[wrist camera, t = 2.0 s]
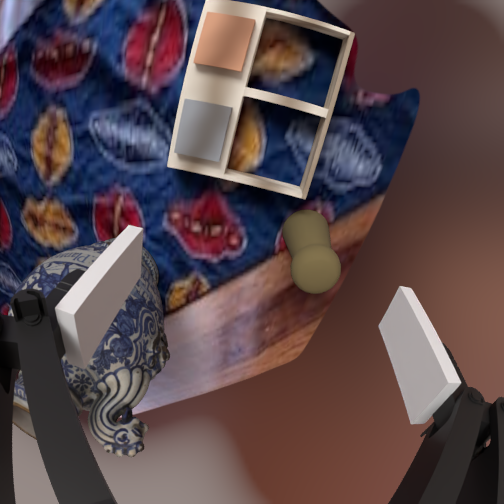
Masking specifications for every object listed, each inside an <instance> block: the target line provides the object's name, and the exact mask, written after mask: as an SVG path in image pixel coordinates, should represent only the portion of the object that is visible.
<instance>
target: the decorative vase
mask: <svg viewBox="0 0 504 504" xmlns="http://www.w3.org/2000/svg"><path fill="white" fill-rule="evenodd" d="M115 239H116V238H113V239H108V240H106V241H100V242H97V243H94V244H92V245H91V246H82V247H78V248H74V249H70V250H67V251H64V252H62V253H59V254H57V255H55V256H53V257H51V258H49V259H48V260H46V261H45V262H43V263H42V264H40V265H39V266H38V267H37V268H35V269H34V270H33V271H32V272H31V273H30V274H29V275H28V276H27V277H26V278H25V279H24V281H23V282H22V283H21V285H20V286H19V288H18V289H17V291H16V292H15V294H16V293H17V292H19V291H20V290H24V289H31V288H33V289H37V290H39V291H41V292H42V293H43V294H44V296H45V298H46V297H47V296H48V295H49V293H50V292H51V291H52V290H53V289H54V288H56V286H57V284H58V283H59V282H61V280H62V279H63V278H64V277H65V276H66V275H67V274H68V273H70V272H72V271H74V270H75V269H81V270H84V271H87V270H88V268H89V267H90V266H91V265H92V264H93V263H94V262H95V261H96V260H97V258H98V257H99V256H100V255H101V254H102V253H103V252H104V251H105V250H106V249H107V248H108V247H109V245H110V244H111V243H112V242H113V241H114V240H115ZM158 277H159V274H158V269H157V266H156V263H155V261H154V259H153V257H152V256H151V255H150V253H149V252H148V251H147V250H146V249H145V248H144V247H142V258H141V277H140V278H139V280H138V281H137V283H136V284H135V286H134V288H133V289H132V291H131V292H130V294H129V295H128V297H127V299H126V300H125V302H124V303H123V305H122V307H121V308H120V310H119V312H118V313H117V315H116V317H115V318H114V320H113V322H112V323H111V325H110V327H109V328H108V330H107V332H106V333H105V335H104V337H103V338H102V340H101V342H100V344H99V345H98V347H97V349H96V351H95V352H94V354H93V356H92V358H91V359H90V361H89V363H88V365H87V367H86V368H85V369H82V368H80V367H77V366H74V365H72V364H69V363H68V361H67V358H66V354H64V356H63V358H62V359H61V364H62V367H63V371H64V374H65V378H66V381H67V384H68V388H69V391H70V394H71V397H72V400H73V403H74V406H75V409H76V412H77V415H78V416H79V415H80V414H81V413H82V410H83V409H84V410H88V411H90V412H89V415H88V425H89V429H90V431H91V434H92V436H93V437H94V438H95V440H97V441H98V442H99V443H100V444H101V445H102V446H103V447H104V449H105V450H106V451H107V452H108V453H114V454H115V455H116V456H119V457H121V456H123V455H127V456H129V457H134V456H135V455H136V454H137V453H138V452H140V451H142V450H144V444H143V438H144V435H145V433H146V432H147V431H148V429H149V428H148V425H147V424H145V423H142V422H141V421H140V420H139V419H138V418H136V417H132V409H133V408H134V407H135V406H136V405H137V404H139V402H140V401H141V400H142V398H143V397H144V395H145V394H146V391H147V389H148V386H149V382H150V380H152V379H154V378H155V376H156V375H157V374H158V373H159V372H160V371H161V370H162V368H163V367H164V366H165V363H166V361H167V360H169V358H170V353H169V351H168V349H167V347H168V343H167V338H166V335H165V333H164V316H163V307H162V302H161V298H160V294H159V291H158V288H157V283H158ZM8 316H14V315H13V312H12V308H11V305H10V309H9V314H8ZM18 371H19V369H17V370H16V374H17V372H18ZM121 415H122V420H120V421H119V422H116V421H117V419H118V417H120V416H121ZM12 423H14V424H15V425H16V426H17V427H19V428H20V429H21V430H22V431H24V432H25V433H26V434H28V435H29V436H31V437H33V438H35V439H36V436H35V432H34V428H33V424H32V420H31V416H30V412H29V408H28V403H27V398H26V393H25V388H24V383H23V377H22V371H20V372H19V379H18V380H17V381H15V389H14V402H13V421H12ZM36 440H37V439H36Z"/></svg>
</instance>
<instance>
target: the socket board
mask: <svg viewBox="0 0 504 504" xmlns="http://www.w3.org/2000/svg"><path fill="white" fill-rule="evenodd" d="M266 18H269V19H274V20H278V21H282V22H286V23H290V24H294V25H298V26H301V27H305V28H308V29H312V30H315V31H318V32H321V33H325V34H328V35H331V36H334V37H337V38H340V39H342V40H343V41H342V45H341V49H340V52H339V56H338V59H337V63H336V66H335V70H334V74H333V77H332V81H331V84H330V88H329V91H328V95H327V98H326V101H325V105H324V108H322V107H319V106H316V105H313V104H309V103H306V102H303V101H299V100H296V99H292V98H289V97H285V96H281V95H277V94H273V93H269V92H265V91H261V90H257V89H253V88H248V87H247V85H248V81H249V77H250V74H251V70H252V66H253V63H254V59H255V55H256V52H257V48H258V44H259V41H260V37H261V34H262V30H263V27H264V23H265V20H266ZM354 35H355V33H353V32H350V31H347V30H345V29H342V28H339V27H336V26H333V25H330V24H327V23H324V22H321V21H317V20H314V19H311V18H307V17H304V16H300V15H296V14H293V13H289V12H285V11H281V10H276V9H272V8H268V7H263V6H258V5H253V4H248V3H242V2H236V1H230V0H206V2H205V5H204V8H203V11H202V15H201V18H200V22H199V25H198V29H197V32H196V36H195V40H194V43H193V47H192V51H191V55H190V59H189V63H188V67H187V71H186V75H185V79H184V84H183V88H182V92H181V97H180V102H179V106H178V111H177V116H176V121H175V126H174V131H173V136H172V142H171V147H170V153H169V159H168V165H167V167H171V168H176V169H181V170H186V171H190V172H195V173H200V174H204V175H209V176H213V177H218V178H222V179H226V180H231V181H235V182H239V183H243V184H247V185H251V186H256V187H260V188H264V189H268V190H271V191H275V192H279V193H283V194H287V195H291V196H294V197H298V198H302V199H306V196H307V193H308V190H309V187H310V184H311V181H312V178H313V174H314V171H315V168H316V165H317V162H318V158H319V155H320V152H321V149H322V146H323V142H324V139H325V136H326V132H327V129H328V126H329V122H330V119H331V116H332V112H333V109H334V106H335V102H336V99H337V95H338V92H339V88H340V85H341V81H342V78H343V74H344V71H345V67H346V64H347V60H348V57H349V53H350V49H351V46H352V42H353V38H354ZM245 96H247V97H251V98H256V99H260V100H264V101H268V102H272V103H276V104H279V105H283V106H287V107H291V108H294V109H298V110H301V111H305V112H308V113H311V114H315V115H318V116H321V119H320V122H319V125H318V129H317V132H316V135H315V139H314V142H313V145H312V149H311V152H310V155H309V159H308V162H307V165H306V168H305V172H304V175H303V178H302V181H301V185H300V187H299V186H295V185H292V184H288V183H284V182H280V181H276V180H272V179H269V178H265V177H261V176H257V175H253V174H248V173H244V172H240V171H236V170H232V169H227V166H228V162H229V157H230V153H231V149H232V145H233V141H234V137H235V132H236V128H237V124H238V120H239V116H240V112H241V108H242V104H243V100H244V97H245Z"/></svg>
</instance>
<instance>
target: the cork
mask: <svg viewBox="0 0 504 504" xmlns="http://www.w3.org/2000/svg"><path fill="white" fill-rule="evenodd" d="M282 231H283V238H284V240H285V243H286V245H287V247H288V250H289V252H290V254H291V257H292V259H293V260H292V263H291V276H292V279H293V281H294V283H295V284H296V285H297V286H298V287H299V288H300V289H301V290H303V291H305V292H308V293H313V294H315V293H322V292H325V291H327V290H329V289H330V288H332V287H333V286H334V285H335V283H336V282H337V281H338V279H339V276H340V270H341V264H340V261H339V258H338V256H337V255H336V253H335V252H334V251H333V250H332V249H331V242H330V234H329V226H328V223H327V221H326V219H325V218H324V217H323V216H322V215H321V214H320V213H318V212H316V211H313V210H300V211H297V212H295V213H293V214H292V215H291V216H289V217H288V219H287V220H286V221H285V223H284V226H283V229H282Z"/></svg>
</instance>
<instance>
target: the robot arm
mask: <svg viewBox="0 0 504 504" xmlns="http://www.w3.org/2000/svg"><path fill="white" fill-rule="evenodd" d="M142 240H143V228H139V227H135V226H131V225H129V226H128V227H127V228H126V229H125V230H124V231H123V232H122V233H121V234H120V235H119V236H118V237H117V238H116V239H115V240H114V241H113V242H112V243H111V244H110V245H109V247H108V248H107V249H106V250H105V251H104V252H103V253H102V254H101V255H100V256H99V257H98V258H97V260H96V261H95V262H94V263H93V264H92V265H91V266H90V267H89V268H88V270H87V271H84V270H81V269H75V270H74V271H72V272H70V273H68V274H67V275H66V276H65V277H64V278H63V279H62V280H61V282H59V283H58V284H57V286H56V288H54V289H53V290H52V291H51V292H50V293H49V295H48V296H47V297H46V298H45V296H44V294H43V293H42V292H41V291H39V290H37V289H33V288H31V289H24V290H20V291H19V292H17V293H16V294H14V296H13V297H12V298H11V302H10V305H11V308H12V312H13V315H14V316H8V315H1V313H0V504H16V503H15V493H14V484H13V483H14V482H13V464H12V421H13V402H14V389H15V379H16V370H17V369H19V370H21V371H22V377H23V383H24V388H25V393H26V398H27V403H28V408H29V412H30V416H31V420H32V424H33V428H34V432H35V436H36V439H37V443H38V446H39V449H40V453H41V455H42V459H43V461H44V465H45V468H46V471H47V473H48V476H49V479H50V482H51V484H52V487H53V489H54V492H55V495H56V497H57V499H58V502H59V504H117V502H116V500H115V498H114V496H113V494H112V493H111V491H110V489H109V487H108V485H107V483H106V481H105V479H104V477H103V474H102V472H101V470H100V468H99V466H98V464H97V462H96V459H95V457H94V455H93V453H92V450H91V448H90V445H89V443H88V441H87V438H86V436H85V433H84V431H83V428H82V425H81V423H80V420H79V418H78V415H77V412H76V409H75V406H74V403H73V400H72V397H71V394H70V391H69V388H68V384H67V381H66V378H65V374H64V371H63V367H62V364H61V359H62V358H63V356H64V354H66V358H67V361H68V363H69V364H72V365H74V366H77V367H80V368H82V369H85V368H86V367H87V365H88V363H89V361H90V359H91V358H92V356H93V354H94V352H95V351H96V349H97V347H98V345H99V344H100V342H101V340H102V338H103V337H104V335H105V333H106V332H107V330H108V328H109V327H110V325H111V323H112V322H113V320H114V318H115V317H116V315H117V313H118V312H119V310H120V308H121V307H122V305H123V303H124V302H125V300H126V299H127V297H128V295H129V294H130V292H131V291H132V289H133V288H134V286H135V284H136V283H137V281H138V280H139V278H140V277H141V258H142ZM379 329H380V331H381V334H382V337H383V340H384V342H385V345H386V348H387V351H388V354H389V356H390V359H391V362H392V365H393V368H394V371H395V374H396V377H397V380H398V383H399V387H400V390H401V392H402V396H403V399H404V402H405V406H406V409H407V412H408V415H409V419H410V423H411V424H424V423H425V422H426V421H427V420H428V419H429V418H430V417H431V416H432V415H433V418H434V422H433V423H432V424H431V425H430V426H429V427H428V428H427V429H426V430H425V431H424V432H423V433H422V434H421V437H422V436H423V435H425V434H426V436H425V438H424V440H423V442H422V444H421V446H420V448H419V450H418V452H417V454H416V456H415V458H414V460H413V462H412V464H411V466H410V468H409V469H408V471H407V473H406V475H405V476H404V478H403V480H402V482H401V484H400V485H399V487H398V489H397V490H396V492H395V494H394V495H393V497H392V498H391V500H390V502H389V503H388V504H504V398H503V397H499V398H498V399H497V400H496V401H495V402H494V403H493V404H491V403H488V402H485V401H484V398H483V396H482V394H481V393H480V392H479V391H478V390H476V389H475V388H473V387H468V386H467V384H466V382H465V380H464V378H463V376H462V373H461V372H460V369H459V367H457V363H456V361H455V360H454V357H453V356H452V354H451V352H450V350H449V349H448V348H447V347H446V346H445V344H444V343H442V342H441V341H440V339H439V337H438V335H437V333H436V331H435V329H434V327H433V326H432V324H431V322H430V320H429V318H428V317H427V315H426V313H425V311H424V310H423V308H422V306H421V304H420V303H419V301H418V299H417V297H416V296H415V294H414V292H413V290H412V289H411V288H407V287H402V286H400V287H399V289H398V291H397V292H396V294H395V296H394V298H393V300H392V302H391V304H390V306H389V308H388V310H387V312H386V313H385V315H384V317H383V319H382V321H381V322H380V324H379ZM489 439H491V441H490V444H489V446H488V447H486V442H487V441H488V440H489Z"/></svg>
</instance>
